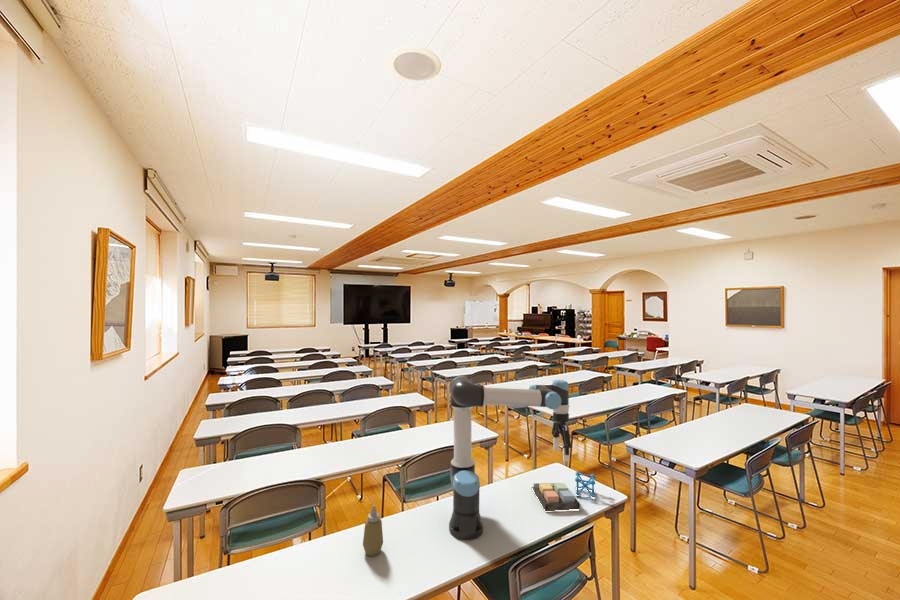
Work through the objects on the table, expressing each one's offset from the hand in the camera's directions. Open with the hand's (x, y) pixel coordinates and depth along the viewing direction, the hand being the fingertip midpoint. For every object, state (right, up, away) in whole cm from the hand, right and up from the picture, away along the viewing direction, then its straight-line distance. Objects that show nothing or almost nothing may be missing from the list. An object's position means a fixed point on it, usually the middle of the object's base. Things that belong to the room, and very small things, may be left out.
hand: (561, 455), depth 179 cm
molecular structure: (+17, -27, +14) cm, 35 cm away
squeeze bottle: (-86, -24, -34) cm, 95 cm away
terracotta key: (-4, -23, +1) cm, 23 cm away
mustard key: (-5, -23, +9) cm, 25 cm away
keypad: (-1, -27, +9) cm, 28 cm away
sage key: (+3, -23, +10) cm, 25 cm away
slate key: (+4, -23, +2) cm, 23 cm away
